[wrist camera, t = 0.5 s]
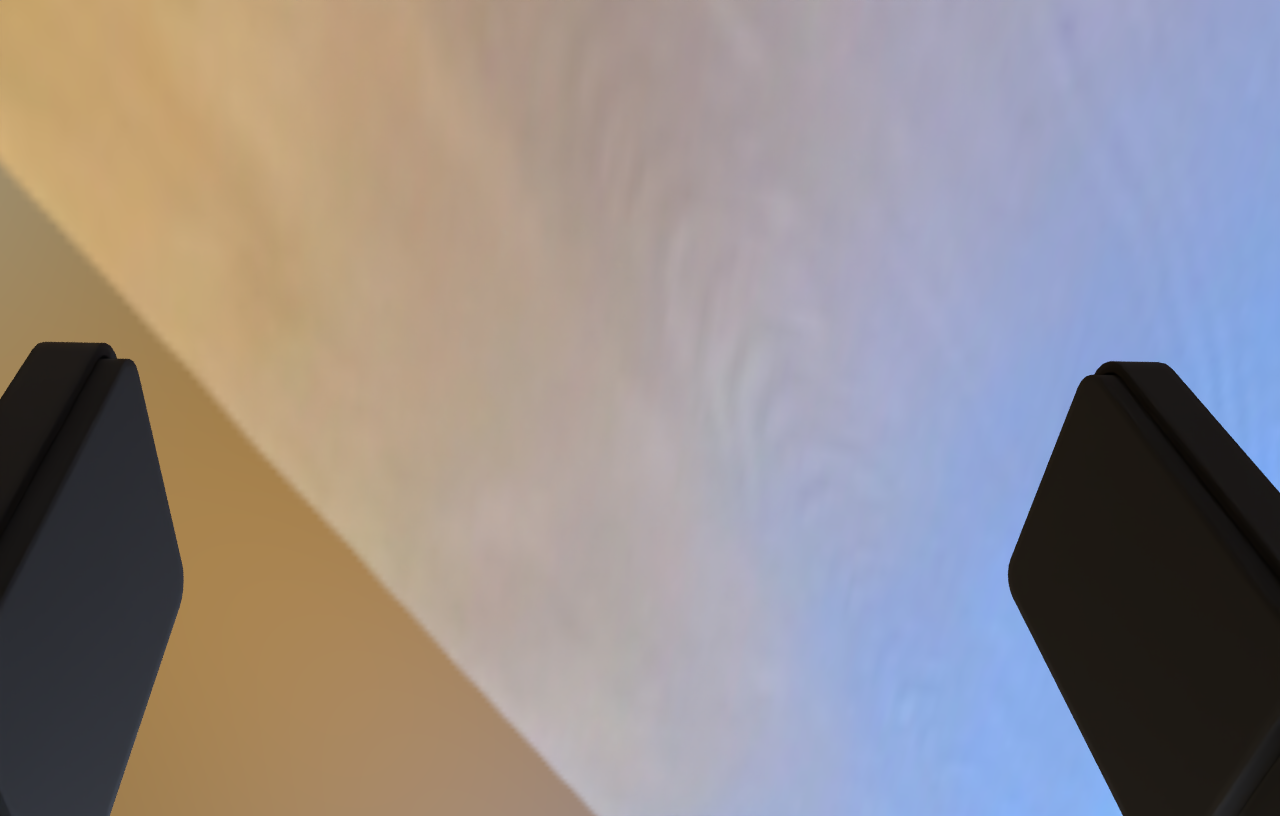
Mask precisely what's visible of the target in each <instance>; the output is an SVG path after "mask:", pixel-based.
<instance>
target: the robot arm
mask: <svg viewBox="0 0 1280 816" xmlns="http://www.w3.org/2000/svg"><path fill="white" fill-rule="evenodd" d="M1008 582H1009V587H1010V591H1011V594H1012V597H1013V599H1014V601H1015V603H1016V605H1017V607H1018V609H1019V611H1020V613H1021V615H1022V617H1023V619H1024V621H1025V623H1026V625H1027V627H1028V628H1029V630H1030V632H1031V634H1032V636H1033V638H1034V640H1035V642H1036V644H1037V646H1038V648H1039V650H1040V652H1041V654H1042V656H1043V658H1044V660H1045V662H1046V664H1047V666H1048V668H1049V670H1050V672H1051V674H1052V676H1053V678H1054V680H1055V682H1056V684H1057V686H1058V688H1059V690H1060V692H1061V694H1062V696H1063V698H1064V700H1065V702H1066V704H1067V706H1068V708H1069V710H1070V712H1071V714H1072V716H1073V718H1074V720H1075V721H1076V723H1077V725H1078V727H1079V729H1080V731H1081V733H1082V735H1083V737H1084V739H1085V741H1086V743H1087V745H1088V747H1089V749H1090V751H1091V753H1092V755H1093V757H1094V759H1095V761H1096V763H1097V765H1098V767H1099V769H1100V771H1101V773H1102V775H1103V777H1104V779H1105V781H1106V783H1107V785H1108V787H1109V789H1110V791H1111V793H1112V795H1113V797H1114V799H1115V801H1116V803H1117V805H1118V807H1119V809H1120V811H1121V813H1122V815H1123V816H1280V493H1279V491H1278V490H1277V489H1276V488H1275V487H1274V486H1273V484H1272V483H1271V482H1270V481H1269V480H1268V479H1267V478H1266V476H1265V475H1264V474H1263V473H1262V472H1261V471H1260V469H1259V468H1258V467H1257V466H1256V465H1255V464H1254V463H1253V461H1252V460H1251V459H1250V458H1249V457H1248V456H1247V454H1246V453H1245V452H1244V451H1243V450H1242V449H1241V448H1240V446H1239V445H1238V444H1237V443H1236V442H1235V441H1234V439H1233V438H1232V437H1231V436H1230V435H1229V434H1228V433H1227V431H1226V430H1225V429H1224V428H1223V427H1222V426H1221V424H1220V423H1219V422H1218V421H1217V420H1216V419H1215V418H1214V416H1213V415H1212V414H1211V413H1210V412H1209V411H1208V409H1207V408H1206V407H1205V406H1204V405H1203V404H1202V403H1201V401H1200V400H1199V399H1198V398H1197V397H1196V396H1195V394H1194V393H1193V392H1192V391H1191V390H1190V389H1189V388H1188V386H1187V385H1186V384H1185V383H1184V382H1183V381H1182V379H1181V378H1180V377H1179V376H1178V375H1177V374H1176V373H1175V371H1174V370H1173V369H1172V368H1170V367H1169V366H1168V365H1167V364H1164V363H1159V362H1119V361H1110V362H1107V363H1104V364H1102V365H1101V366H1100V367H1099V368H1098V369H1097V371H1096V373H1095V374H1094V375H1089V376H1086V377H1085V378H1084V379H1083V380H1082V381H1081V383H1080V385H1079V386H1078V388H1077V391H1076V394H1075V396H1074V399H1073V401H1072V404H1071V406H1070V409H1069V411H1068V414H1067V416H1066V419H1065V422H1064V424H1063V427H1062V429H1061V432H1060V434H1059V437H1058V439H1057V442H1056V445H1055V447H1054V450H1053V452H1052V455H1051V457H1050V460H1049V462H1048V465H1047V467H1046V470H1045V473H1044V475H1043V478H1042V480H1041V483H1040V485H1039V488H1038V490H1037V493H1036V496H1035V498H1034V501H1033V503H1032V506H1031V508H1030V511H1029V513H1028V516H1027V519H1026V521H1025V524H1024V526H1023V529H1022V531H1021V534H1020V536H1019V539H1018V541H1017V544H1016V547H1015V549H1014V552H1013V554H1012V557H1011V559H1010V563H1009V569H1008ZM182 593H183V567H182V562H181V557H180V553H179V549H178V544H177V540H176V535H175V531H174V527H173V522H172V518H171V514H170V509H169V505H168V500H167V496H166V492H165V487H164V483H163V479H162V474H161V470H160V465H159V461H158V457H157V453H156V448H155V444H154V439H153V435H152V430H151V426H150V422H149V417H148V413H147V409H146V404H145V400H144V396H143V391H142V387H141V383H140V378H139V374H138V371H137V368H136V365H135V364H134V362H133V361H132V360H130V359H117V357H116V354H115V352H114V351H113V349H112V348H111V346H110V345H108V344H106V343H75V342H42V343H39V344H37V345H36V346H35V348H34V349H32V351H31V353H30V354H29V356H28V357H27V359H26V360H25V362H24V364H23V365H22V366H21V368H20V369H19V371H18V373H17V374H16V376H15V377H14V379H13V380H12V382H11V383H10V385H9V387H8V388H7V390H6V391H5V393H4V394H3V396H2V397H1V399H0V816H110V813H111V810H112V807H113V804H114V801H115V798H116V795H117V792H118V789H119V786H120V783H121V780H122V777H123V774H124V771H125V768H126V765H127V762H128V759H129V756H130V753H131V750H132V747H133V744H134V741H135V738H136V735H137V732H138V729H139V726H140V724H141V721H142V718H143V715H144V711H145V709H146V706H147V703H148V700H149V697H150V694H151V691H152V687H153V684H154V682H155V678H156V676H157V673H158V670H159V667H160V664H161V661H162V658H163V655H164V652H165V649H166V646H167V643H168V640H169V636H170V634H171V631H172V628H173V625H174V622H175V619H176V616H177V613H178V610H179V607H180V603H181V599H182Z"/></svg>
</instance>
